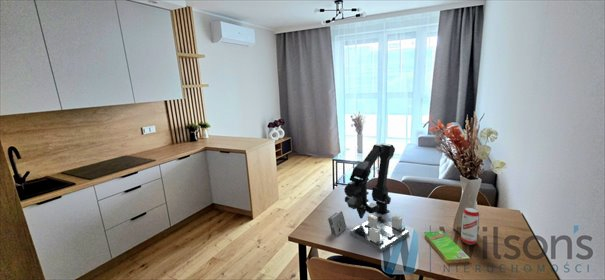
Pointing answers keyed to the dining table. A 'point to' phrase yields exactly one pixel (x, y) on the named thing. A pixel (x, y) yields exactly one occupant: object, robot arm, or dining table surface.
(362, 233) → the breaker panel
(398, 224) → the block
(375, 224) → the breaker
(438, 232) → the game box
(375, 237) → the breaker
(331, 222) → the electrical switch
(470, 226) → the beer can
